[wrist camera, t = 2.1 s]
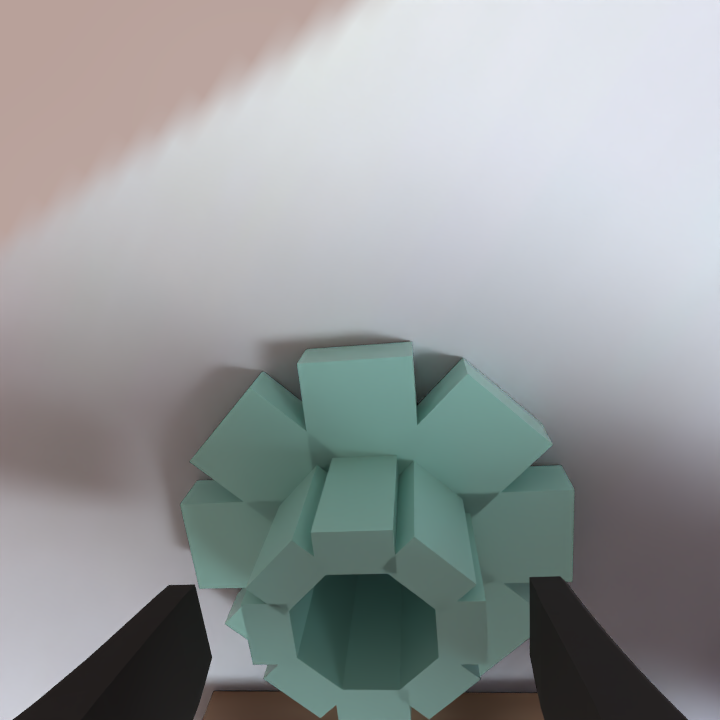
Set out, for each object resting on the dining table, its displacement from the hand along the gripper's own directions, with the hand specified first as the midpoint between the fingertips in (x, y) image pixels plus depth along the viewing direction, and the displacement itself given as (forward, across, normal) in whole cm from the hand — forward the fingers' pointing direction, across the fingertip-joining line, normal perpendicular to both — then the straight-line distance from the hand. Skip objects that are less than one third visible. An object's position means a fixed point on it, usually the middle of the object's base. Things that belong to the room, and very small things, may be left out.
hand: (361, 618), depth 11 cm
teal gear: (+4, 0, 0) cm, 4 cm away
